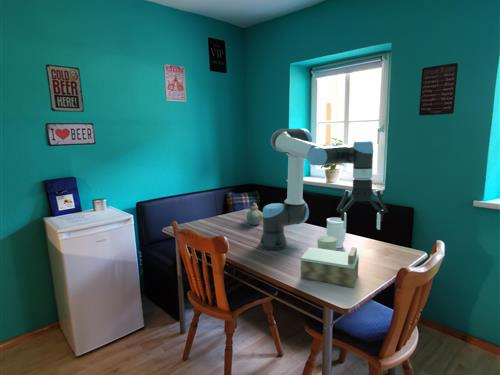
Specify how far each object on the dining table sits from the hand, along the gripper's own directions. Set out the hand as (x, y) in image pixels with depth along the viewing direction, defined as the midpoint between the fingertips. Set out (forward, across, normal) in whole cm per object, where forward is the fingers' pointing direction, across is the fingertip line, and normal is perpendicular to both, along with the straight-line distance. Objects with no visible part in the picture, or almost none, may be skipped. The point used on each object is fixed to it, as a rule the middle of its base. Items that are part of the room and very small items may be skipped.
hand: (361, 228), depth 133 cm
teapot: (+20, -58, +77) cm, 98 cm away
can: (+22, -13, +17) cm, 30 cm away
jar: (+21, -6, +39) cm, 45 cm away
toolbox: (+22, -13, 0) cm, 25 cm away
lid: (+14, -13, 0) cm, 19 cm away
